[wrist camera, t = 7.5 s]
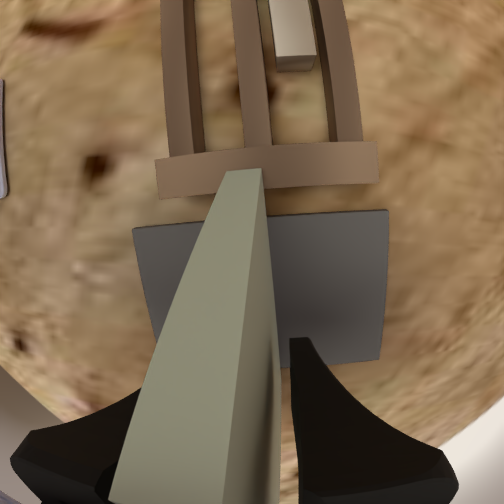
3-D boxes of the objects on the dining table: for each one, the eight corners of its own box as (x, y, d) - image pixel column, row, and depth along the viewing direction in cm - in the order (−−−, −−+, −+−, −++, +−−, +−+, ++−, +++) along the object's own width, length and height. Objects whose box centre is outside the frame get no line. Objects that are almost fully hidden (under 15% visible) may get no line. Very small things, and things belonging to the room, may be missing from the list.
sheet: (260, 382, 17) (248, 553, 8) (226, 171, 11) (108, 499, 2) (281, 382, 17) (277, 554, 8) (261, 168, 11) (220, 522, 2)
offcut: (277, 73, 12) (276, 56, 10) (265, -14, 11) (262, -40, 9) (310, 71, 12) (316, 54, 10) (296, -15, 11) (298, -41, 9)
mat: (165, 363, 17) (163, 367, 17) (135, 227, 15) (131, 229, 15) (377, 355, 16) (379, 359, 15) (386, 209, 14) (388, 210, 13)
